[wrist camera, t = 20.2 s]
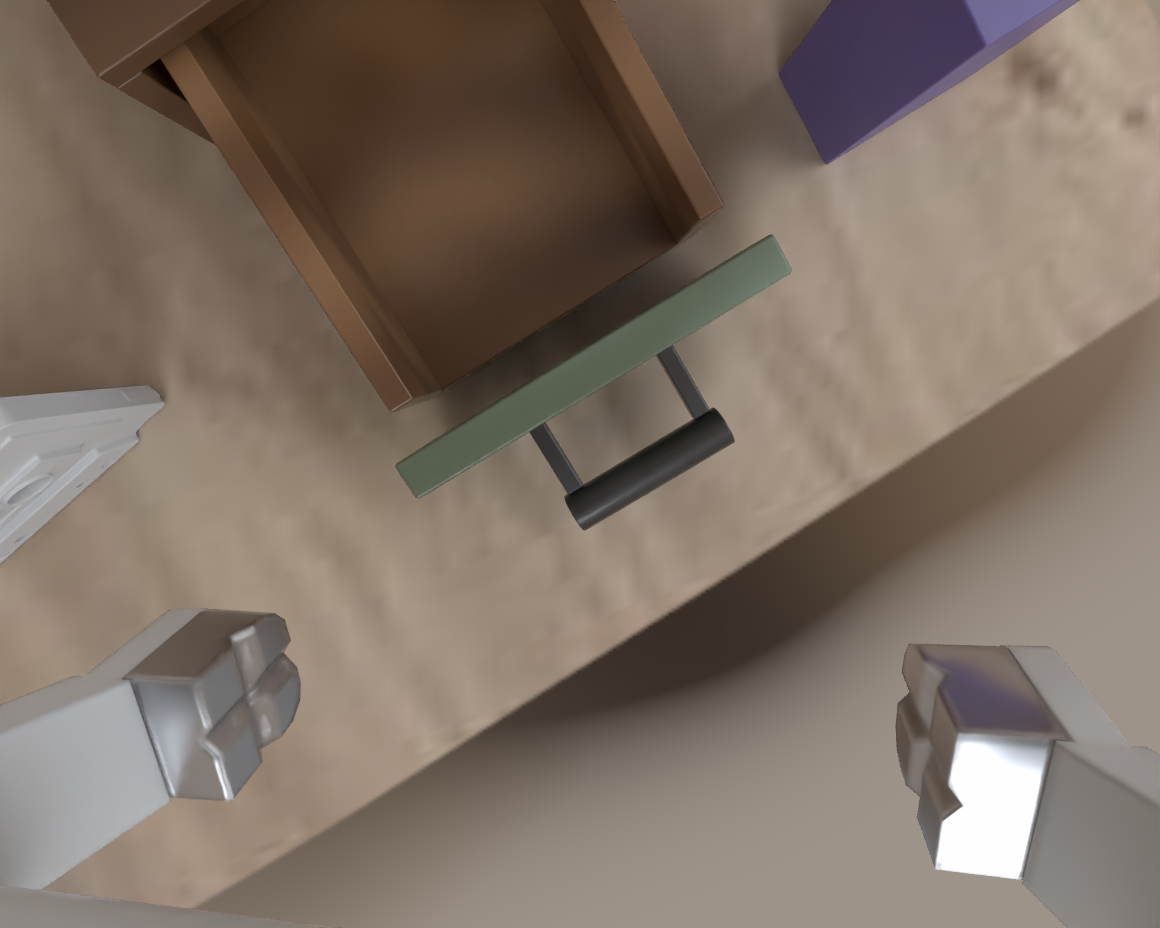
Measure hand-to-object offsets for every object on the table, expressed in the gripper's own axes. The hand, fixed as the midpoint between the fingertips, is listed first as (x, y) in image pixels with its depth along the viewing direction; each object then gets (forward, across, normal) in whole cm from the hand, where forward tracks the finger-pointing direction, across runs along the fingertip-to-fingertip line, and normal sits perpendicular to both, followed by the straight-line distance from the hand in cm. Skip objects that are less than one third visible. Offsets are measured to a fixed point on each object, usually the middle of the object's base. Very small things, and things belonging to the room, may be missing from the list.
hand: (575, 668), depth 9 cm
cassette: (+14, +23, +4) cm, 27 cm away
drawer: (+18, +5, -5) cm, 19 cm away
